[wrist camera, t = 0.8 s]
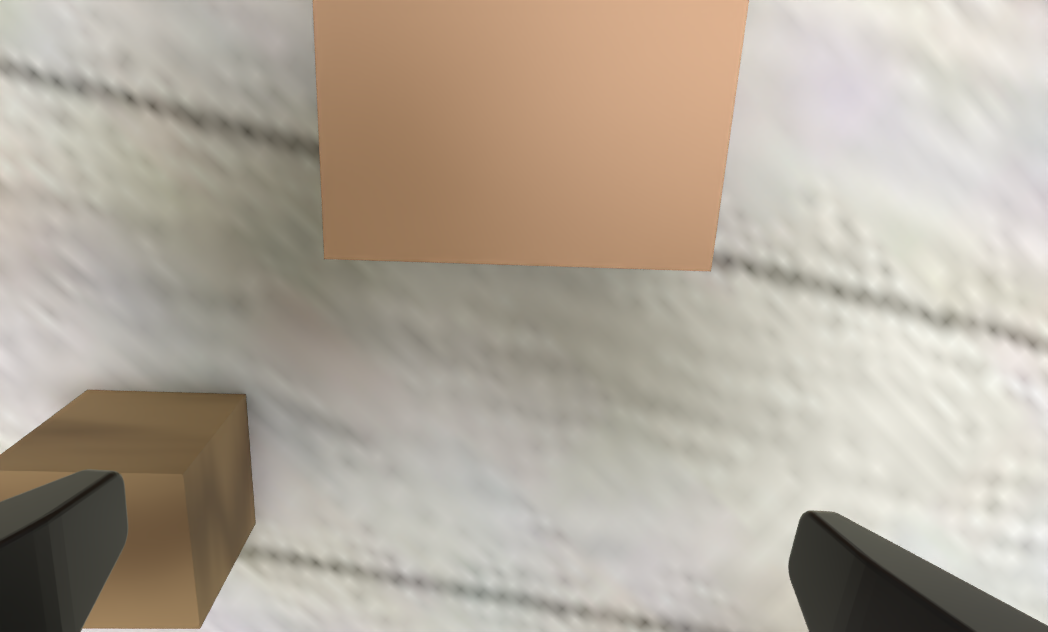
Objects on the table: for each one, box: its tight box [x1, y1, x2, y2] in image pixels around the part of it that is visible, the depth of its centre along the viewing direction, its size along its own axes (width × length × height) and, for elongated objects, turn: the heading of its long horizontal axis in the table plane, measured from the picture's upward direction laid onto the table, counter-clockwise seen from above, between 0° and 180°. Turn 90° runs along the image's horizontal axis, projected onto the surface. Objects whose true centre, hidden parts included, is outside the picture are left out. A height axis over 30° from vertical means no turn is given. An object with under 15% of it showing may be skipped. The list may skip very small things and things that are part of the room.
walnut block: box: [0, 390, 256, 629], centre depth 20 cm, size 5×5×5 cm
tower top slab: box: [313, 0, 749, 271], centre depth 15 cm, size 9×9×3 cm
